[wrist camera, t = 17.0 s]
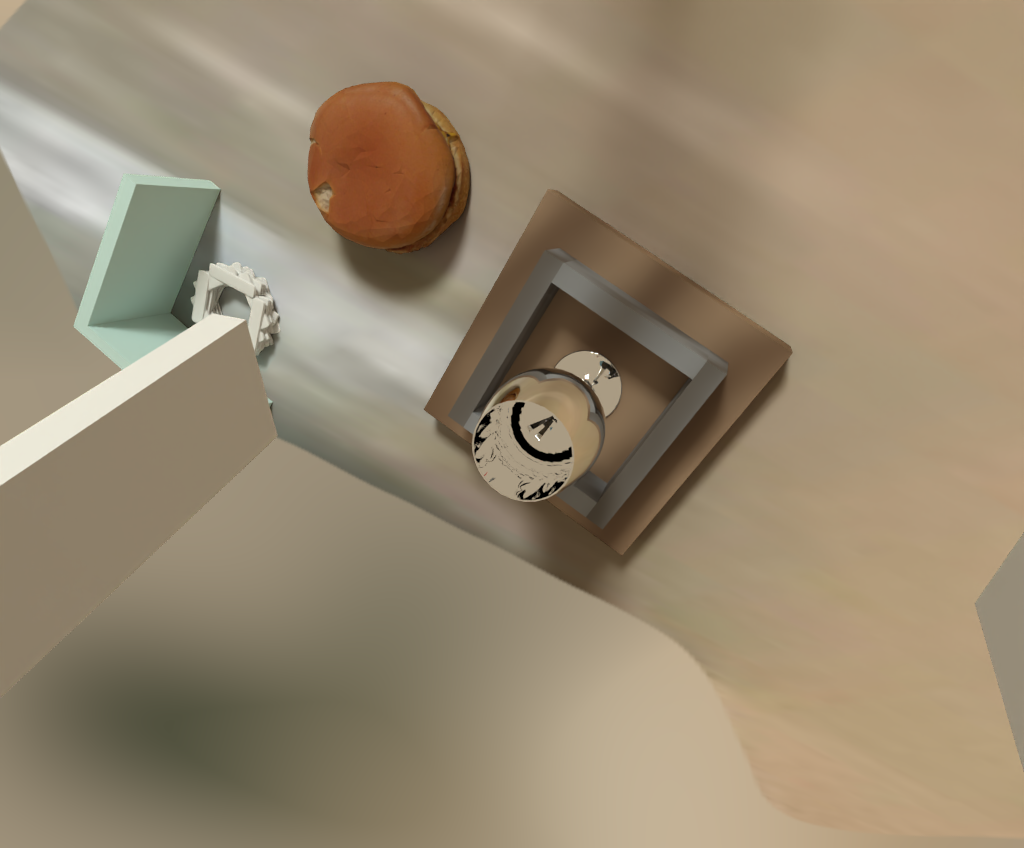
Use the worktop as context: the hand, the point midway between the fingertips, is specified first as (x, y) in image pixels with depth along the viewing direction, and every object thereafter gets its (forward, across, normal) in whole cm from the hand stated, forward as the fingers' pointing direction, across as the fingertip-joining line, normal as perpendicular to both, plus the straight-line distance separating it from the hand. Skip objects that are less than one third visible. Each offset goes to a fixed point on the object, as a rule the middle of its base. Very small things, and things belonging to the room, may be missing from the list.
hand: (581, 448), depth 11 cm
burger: (+29, -19, -5) cm, 35 cm away
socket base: (+25, -4, -14) cm, 29 cm away
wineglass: (+23, -5, -14) cm, 28 cm away
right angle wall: (+27, -32, -14) cm, 44 cm away
